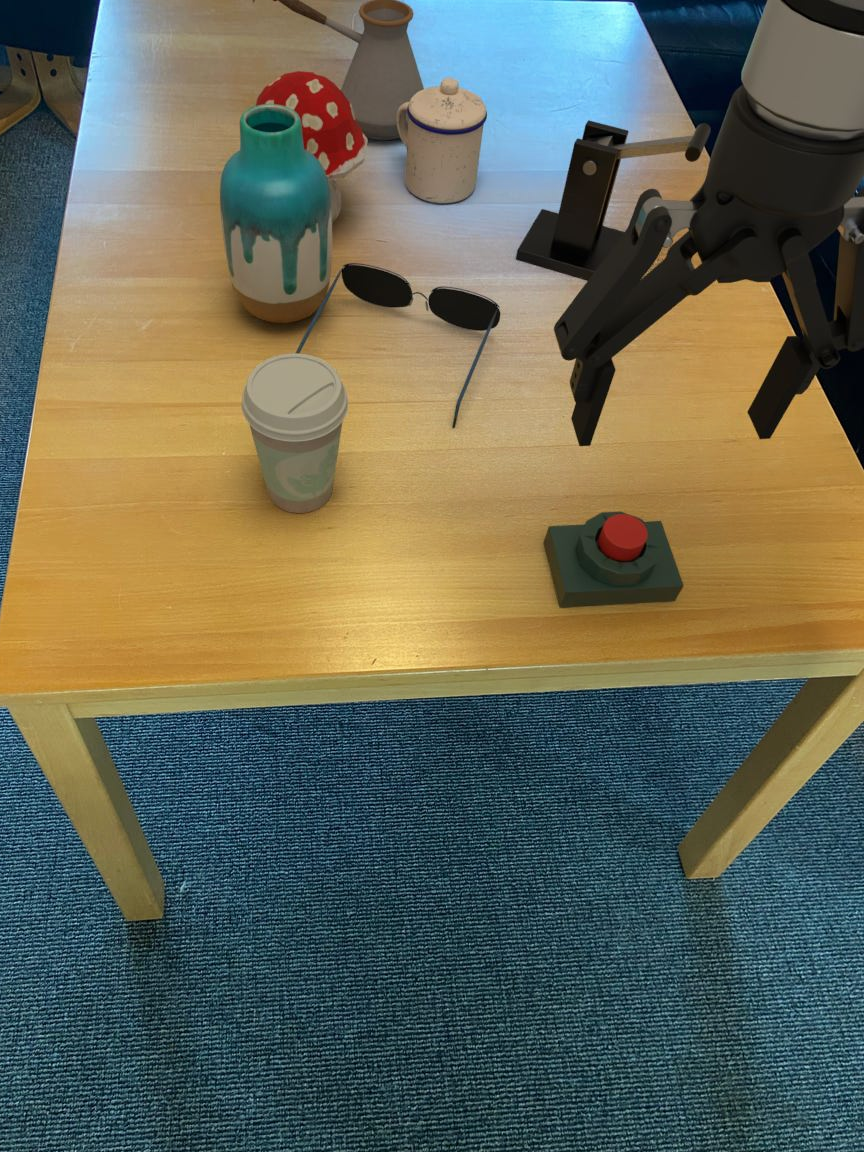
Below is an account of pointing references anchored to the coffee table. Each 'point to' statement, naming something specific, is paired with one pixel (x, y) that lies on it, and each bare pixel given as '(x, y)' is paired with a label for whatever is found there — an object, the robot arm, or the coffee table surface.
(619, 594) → the button housing
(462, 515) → the coffee table surface
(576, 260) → the black lever stand
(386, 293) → the sunglasses
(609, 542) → the button
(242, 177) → the vase
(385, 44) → the coffee pot
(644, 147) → the lever
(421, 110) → the teacup with lid
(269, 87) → the decorative mushroom
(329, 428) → the coffee cup
